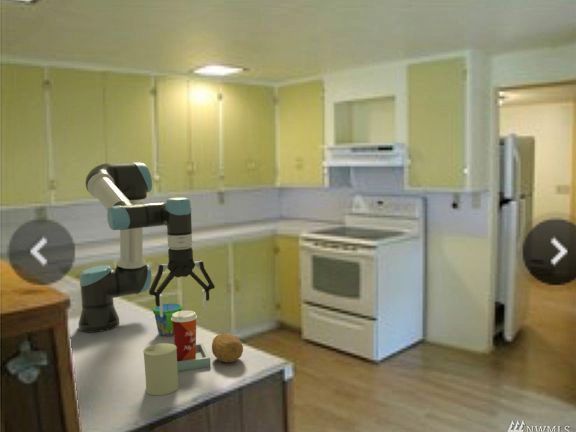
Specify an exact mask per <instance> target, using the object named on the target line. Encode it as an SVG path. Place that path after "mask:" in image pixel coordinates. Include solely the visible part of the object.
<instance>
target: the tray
mask: <svg viewBox="0 0 576 432" xmlns="http://www.w3.org/2000/svg"><path fill="white" fill-rule="evenodd" d="M209 367H211V357H210V355H209V353H208V351H207V348H206V346H205V345H204V343H203V342H201V343H196V358H195V359H191V360H184V361H177V371H178V373H179V372H184V371H191V370H197V369H202V368H209Z"/></svg>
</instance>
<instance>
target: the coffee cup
mask: <svg viewBox="0 0 576 432" xmlns="http://www.w3.org/2000/svg"><path fill="white" fill-rule="evenodd" d="M197 318H198V315H197V313H196V312H195V311H194V310H182V311H178V312H175V313H173V315H172V318H171V320H172V324H173V333H174V335H173V339H174V340H173V341H174V345H175V346H176V347H177V361H184V360H191V359H195V358H196V344H197Z"/></svg>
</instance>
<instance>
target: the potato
mask: <svg viewBox="0 0 576 432" xmlns="http://www.w3.org/2000/svg"><path fill="white" fill-rule="evenodd" d="M243 346H244V345H243V344H242V342H241V340H240V338H239V337H237V336H236V335H233V334H230V333H229V334H228V333H224V332H223V333H219V334H217V335H215V337H214V338H213V339H212V343H211V351H212V353H213V356H214V357H215V358H216V359H217V360H218V361H221V362H224V363H233V362H236V361H237V360H239V359H240V358H241V357H242V355H243V352H244V347H243Z"/></svg>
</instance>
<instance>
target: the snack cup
mask: <svg viewBox="0 0 576 432" xmlns="http://www.w3.org/2000/svg"><path fill="white" fill-rule="evenodd" d="M162 306H163V317H160V308H159V306H156V305H155V306H154V307H153V309H152V312H153V314H154V317H155V322H156V327H157V332H158V334H159V335H160V336H161V337H162V336H164V337H170V336H174V333H173V324H172V320H171V318H172V315H173V313H175V312H178V311H183V306H182V304H180V303H175V302H174V303H173V302H168V303H162Z"/></svg>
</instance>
